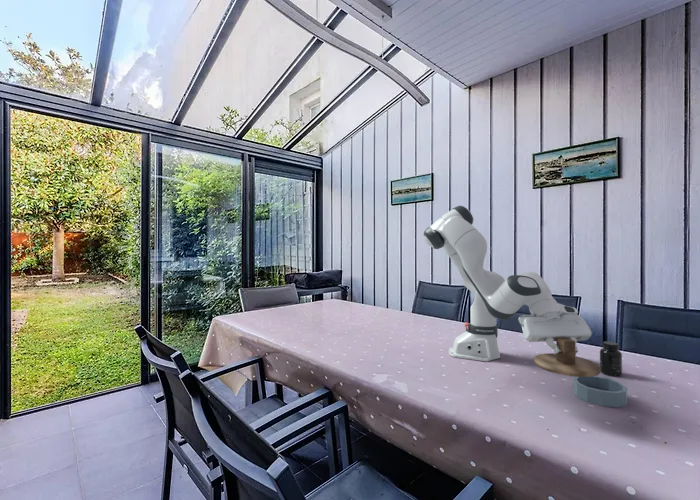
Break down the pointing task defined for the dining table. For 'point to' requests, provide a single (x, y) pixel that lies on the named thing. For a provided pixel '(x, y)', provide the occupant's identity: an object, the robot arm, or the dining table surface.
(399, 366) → the dining table surface
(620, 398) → the slate bowl
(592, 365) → the walnut lid
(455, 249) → the robot arm
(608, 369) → the supplement bottle
